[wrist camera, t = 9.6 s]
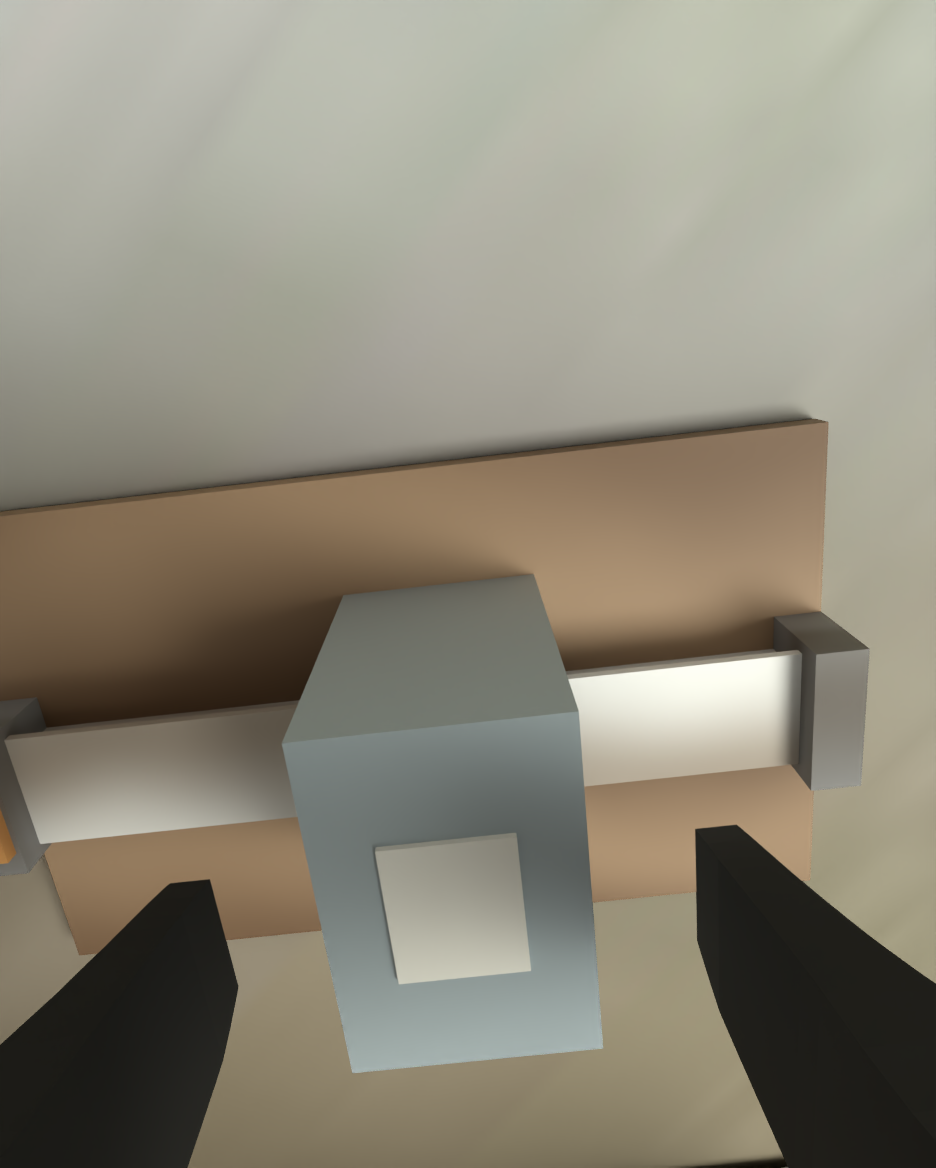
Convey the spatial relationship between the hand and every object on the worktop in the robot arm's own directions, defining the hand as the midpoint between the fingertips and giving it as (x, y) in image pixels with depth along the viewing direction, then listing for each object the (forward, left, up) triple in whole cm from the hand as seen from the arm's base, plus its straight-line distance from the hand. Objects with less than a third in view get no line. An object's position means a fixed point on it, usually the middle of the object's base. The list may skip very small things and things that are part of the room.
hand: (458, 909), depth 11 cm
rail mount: (0, +1, -7) cm, 7 cm away
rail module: (0, 0, -6) cm, 6 cm away
